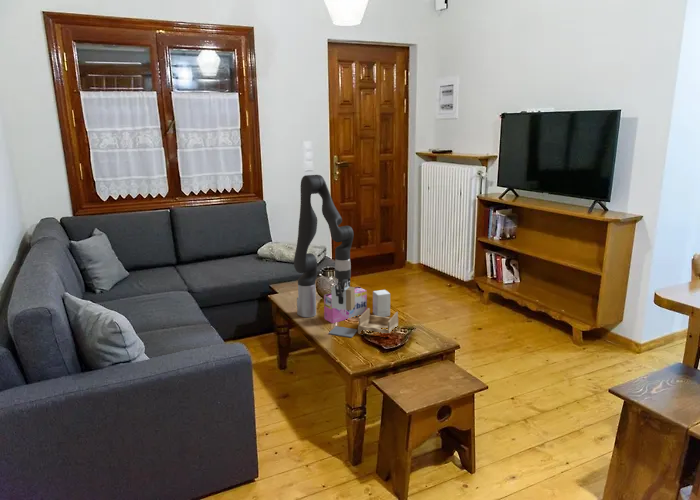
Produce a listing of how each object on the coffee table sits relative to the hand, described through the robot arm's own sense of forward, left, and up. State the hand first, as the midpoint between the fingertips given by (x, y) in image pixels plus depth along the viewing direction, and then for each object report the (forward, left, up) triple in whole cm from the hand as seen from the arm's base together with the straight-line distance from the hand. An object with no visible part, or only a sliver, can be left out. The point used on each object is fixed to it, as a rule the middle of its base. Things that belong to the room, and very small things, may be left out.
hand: (343, 301), depth 238 cm
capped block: (0, 0, -3) cm, 3 cm away
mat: (0, 0, -16) cm, 16 cm away
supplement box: (+10, +29, -16) cm, 35 cm away
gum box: (-7, +20, -16) cm, 26 cm away
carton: (+15, +9, -16) cm, 24 cm away
